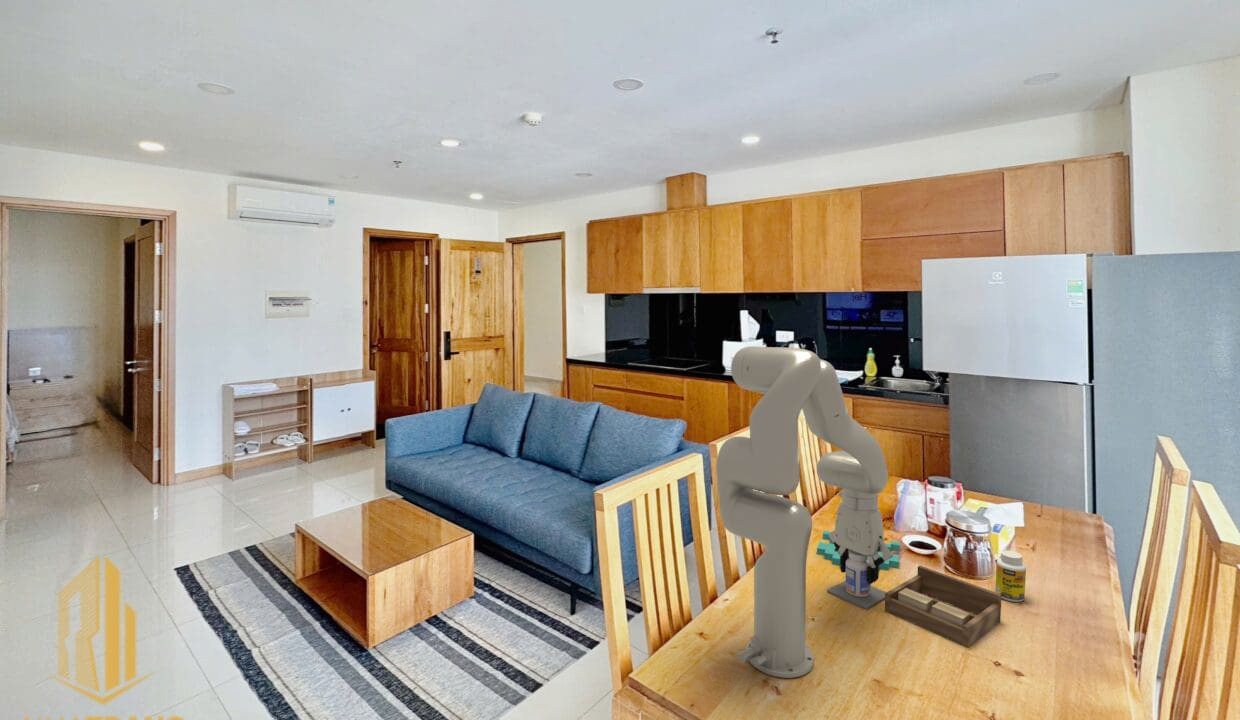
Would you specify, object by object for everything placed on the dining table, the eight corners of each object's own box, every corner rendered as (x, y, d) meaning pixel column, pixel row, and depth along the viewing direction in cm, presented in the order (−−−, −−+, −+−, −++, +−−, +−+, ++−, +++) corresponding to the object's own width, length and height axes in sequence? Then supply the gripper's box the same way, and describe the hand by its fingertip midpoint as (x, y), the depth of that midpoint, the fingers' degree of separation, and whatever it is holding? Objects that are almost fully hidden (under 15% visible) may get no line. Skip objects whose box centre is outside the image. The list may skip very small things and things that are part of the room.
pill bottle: (869, 588, 132) (870, 548, 131) (871, 599, 127) (871, 558, 126) (845, 584, 134) (845, 545, 133) (845, 595, 129) (845, 555, 128)
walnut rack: (967, 647, 110) (968, 618, 109) (884, 610, 123) (885, 584, 123) (1000, 621, 118) (1001, 594, 118) (919, 589, 132) (919, 565, 131)
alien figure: (823, 537, 164) (813, 566, 146) (823, 530, 164) (813, 557, 146) (899, 550, 155) (897, 581, 137) (899, 542, 154) (898, 573, 137)
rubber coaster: (866, 610, 124) (866, 607, 124) (827, 591, 132) (827, 589, 132) (890, 596, 129) (890, 593, 129) (851, 579, 138) (851, 577, 138)
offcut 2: (962, 639, 112) (962, 618, 112) (931, 626, 117) (932, 606, 117) (968, 634, 114) (969, 613, 114) (938, 621, 119) (939, 601, 118)
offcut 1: (925, 623, 118) (926, 603, 118) (897, 611, 123) (898, 592, 123) (932, 619, 120) (933, 599, 119) (905, 607, 125) (905, 588, 124)
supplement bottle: (998, 600, 127) (999, 557, 126) (992, 589, 132) (994, 547, 131) (1027, 605, 124) (1029, 561, 123) (1021, 593, 129) (1022, 550, 129)
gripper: (817, 495, 134) (817, 567, 135) (887, 516, 120) (885, 596, 121) (836, 488, 138) (835, 559, 139) (905, 508, 124) (903, 586, 125)
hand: (858, 575), depth 130 cm, fingers open, 6 cm apart
